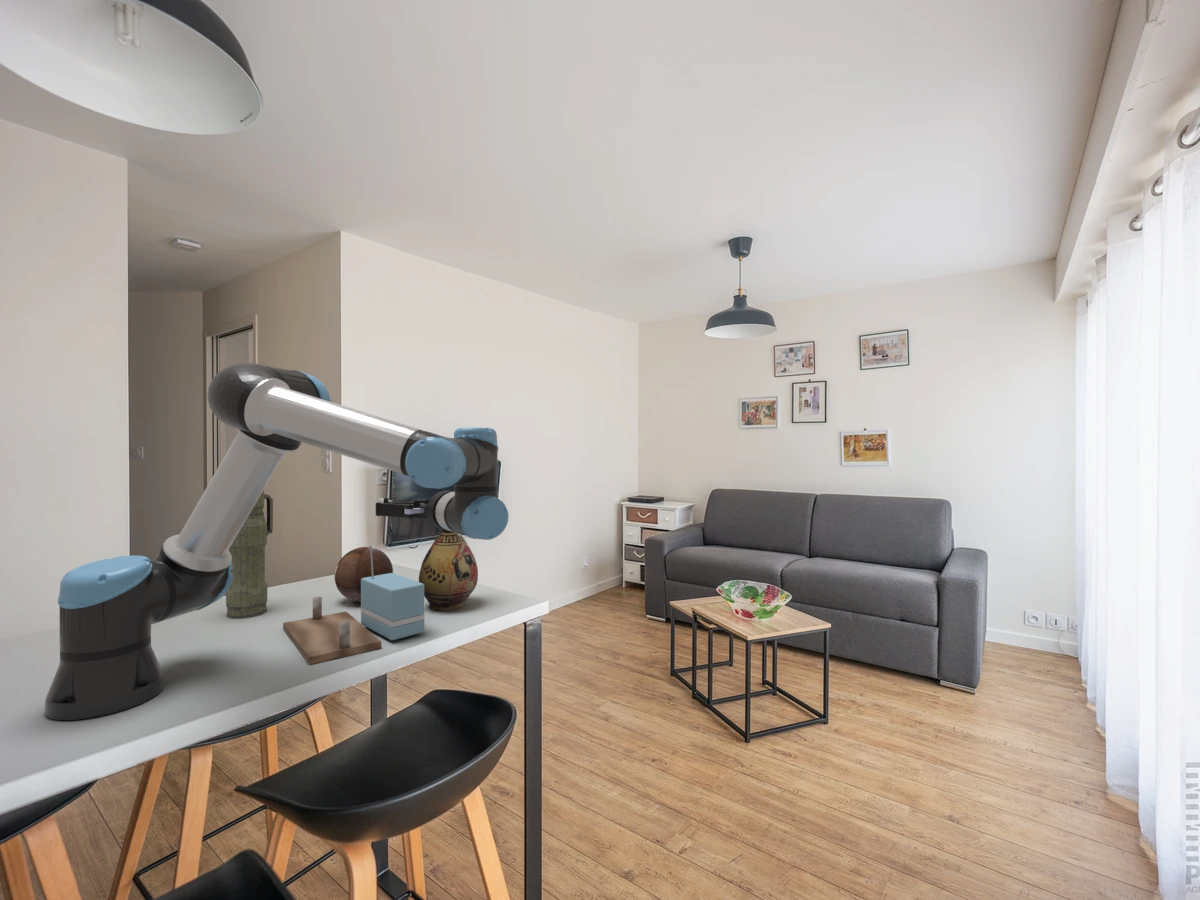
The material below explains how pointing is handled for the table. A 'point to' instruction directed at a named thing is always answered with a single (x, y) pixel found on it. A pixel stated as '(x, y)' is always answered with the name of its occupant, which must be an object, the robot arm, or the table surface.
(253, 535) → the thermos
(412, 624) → the radio
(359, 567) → the wooden sphere
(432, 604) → the ceramic jug
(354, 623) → the pin tray
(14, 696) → the table surface
